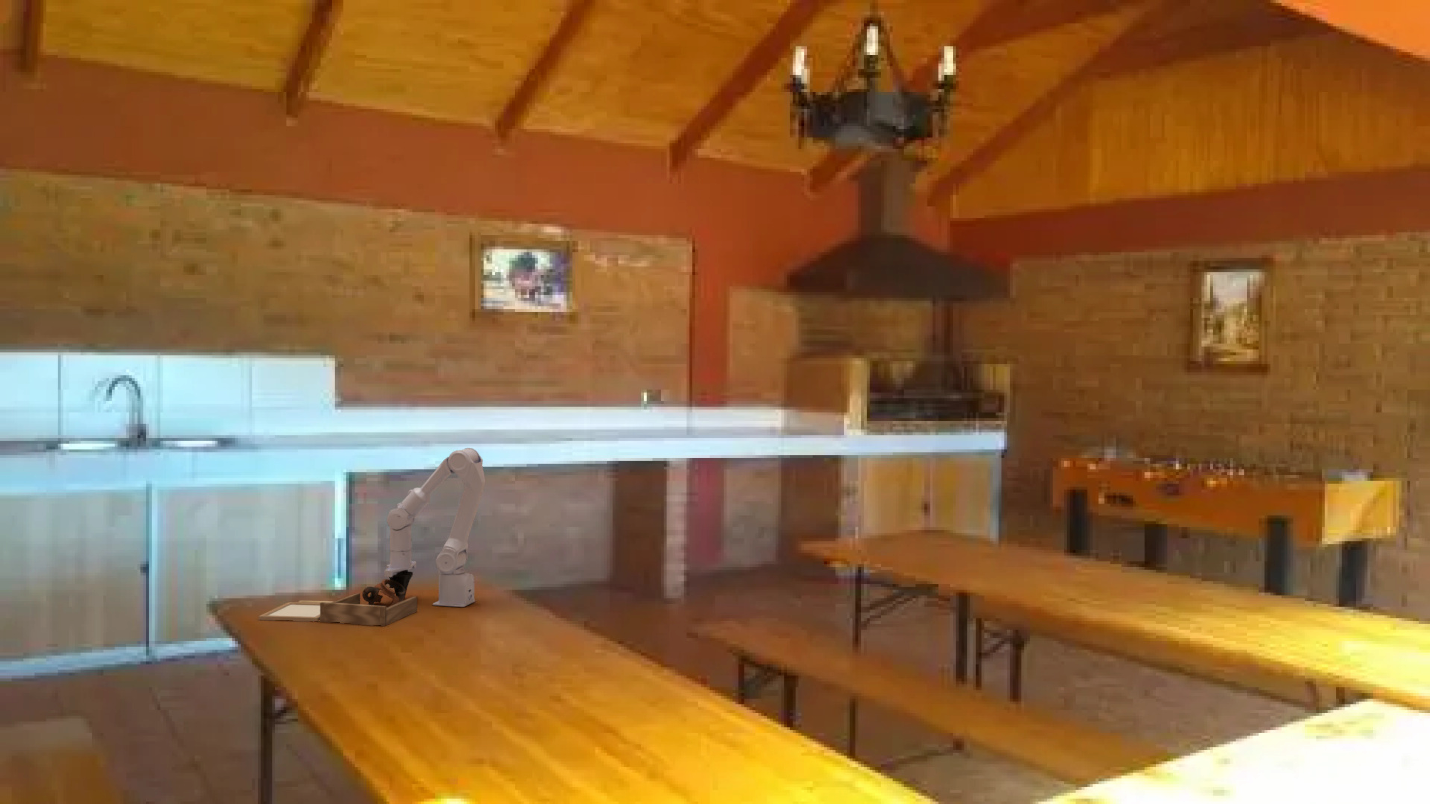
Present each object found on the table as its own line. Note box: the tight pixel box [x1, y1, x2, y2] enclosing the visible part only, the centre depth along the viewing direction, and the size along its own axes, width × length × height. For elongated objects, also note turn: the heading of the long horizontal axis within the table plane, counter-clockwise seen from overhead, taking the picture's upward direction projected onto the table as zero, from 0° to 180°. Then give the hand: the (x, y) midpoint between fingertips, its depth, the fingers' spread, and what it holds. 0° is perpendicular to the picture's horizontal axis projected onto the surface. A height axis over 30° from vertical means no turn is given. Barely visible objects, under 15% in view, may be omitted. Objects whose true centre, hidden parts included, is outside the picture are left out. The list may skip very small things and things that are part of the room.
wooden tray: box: [320, 592, 418, 627], centre depth 300 cm, size 18×18×5 cm
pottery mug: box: [361, 578, 407, 606], centre depth 312 cm, size 12×10×8 cm
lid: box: [258, 600, 335, 623], centre depth 304 cm, size 16×20×1 cm
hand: (400, 597), depth 319 cm, fingers closed
